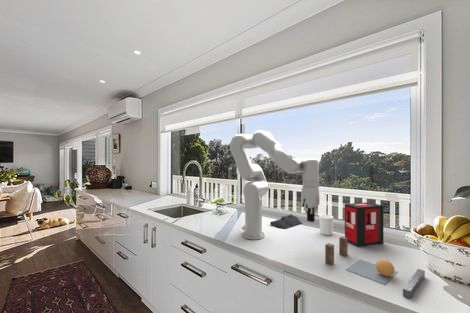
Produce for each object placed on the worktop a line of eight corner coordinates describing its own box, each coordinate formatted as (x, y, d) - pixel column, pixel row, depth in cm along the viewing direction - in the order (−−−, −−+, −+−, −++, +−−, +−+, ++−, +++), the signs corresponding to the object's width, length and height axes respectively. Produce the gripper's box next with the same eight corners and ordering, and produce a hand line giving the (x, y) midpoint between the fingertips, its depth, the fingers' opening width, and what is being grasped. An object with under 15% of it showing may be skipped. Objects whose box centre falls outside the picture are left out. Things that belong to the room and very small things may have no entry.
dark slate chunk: (266, 225, 154) (266, 218, 153) (286, 219, 168) (286, 212, 168) (285, 230, 142) (285, 223, 142) (304, 223, 156) (304, 216, 156)
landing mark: (345, 269, 92) (345, 269, 92) (359, 259, 101) (359, 259, 101) (385, 284, 82) (385, 284, 82) (397, 271, 91) (397, 271, 91)
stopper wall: (403, 296, 75) (403, 288, 75) (418, 275, 88) (418, 268, 88) (410, 299, 74) (410, 291, 74) (424, 277, 87) (424, 270, 86)
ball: (387, 282, 85) (370, 270, 89) (392, 276, 89) (376, 265, 93) (394, 270, 83) (377, 258, 87) (399, 265, 87) (383, 254, 91)
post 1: (325, 263, 98) (325, 244, 98) (328, 261, 100) (328, 243, 100) (331, 265, 96) (331, 246, 96) (334, 263, 98) (334, 244, 98)
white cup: (316, 232, 138) (316, 215, 138) (326, 230, 141) (326, 214, 141) (325, 236, 131) (325, 218, 130) (336, 234, 133) (336, 217, 133)
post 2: (339, 254, 107) (339, 237, 107) (341, 253, 108) (341, 236, 108) (345, 256, 105) (345, 239, 105) (347, 254, 106) (347, 237, 106)
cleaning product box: (369, 237, 128) (369, 202, 128) (383, 243, 119) (383, 205, 119) (344, 240, 124) (344, 204, 124) (357, 247, 115) (357, 207, 115)
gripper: (312, 182, 120) (312, 216, 120) (295, 184, 110) (295, 222, 110) (325, 183, 114) (325, 220, 114) (309, 186, 104) (309, 226, 104)
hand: (310, 221), depth 112 cm, fingers closed
